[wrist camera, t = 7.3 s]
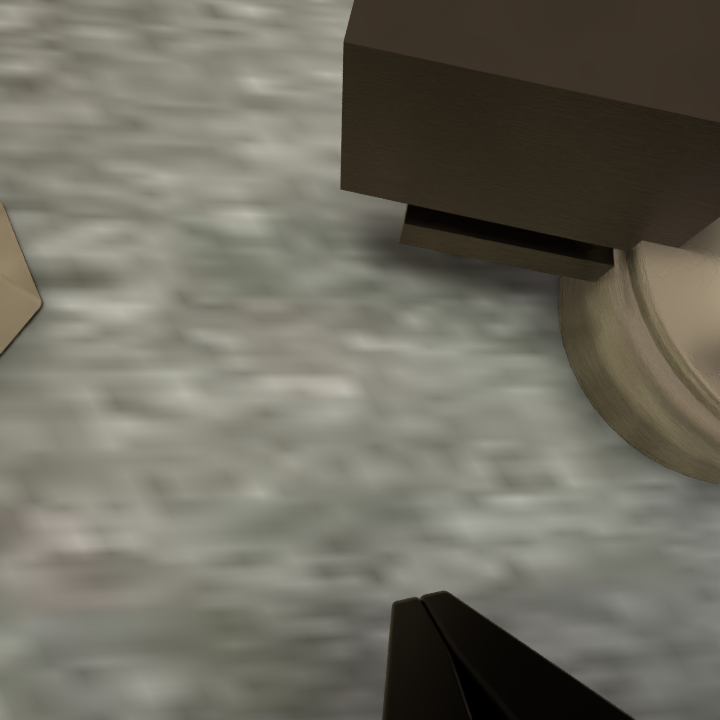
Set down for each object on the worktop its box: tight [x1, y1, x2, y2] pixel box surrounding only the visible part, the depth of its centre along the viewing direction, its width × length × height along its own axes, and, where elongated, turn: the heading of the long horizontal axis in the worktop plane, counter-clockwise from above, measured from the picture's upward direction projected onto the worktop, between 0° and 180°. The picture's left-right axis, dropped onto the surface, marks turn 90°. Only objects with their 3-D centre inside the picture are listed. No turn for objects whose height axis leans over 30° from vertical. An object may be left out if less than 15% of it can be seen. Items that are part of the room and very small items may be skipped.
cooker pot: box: [399, 204, 720, 484], centre depth 22 cm, size 20×13×6 cm, turn 79°
